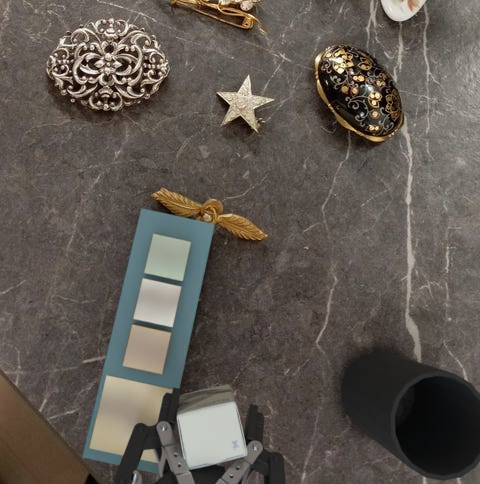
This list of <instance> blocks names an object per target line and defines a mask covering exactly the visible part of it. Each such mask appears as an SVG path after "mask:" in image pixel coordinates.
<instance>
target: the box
mask: <svg viewBox="0 0 480 484" xmlns="http://www.w3.org/2000/svg"><path fill="white" fill-rule="evenodd" d="M176 422H177V429H178V434H179V440H180V447H181V450H182V452H183V457H184V459H185V461H186V464H187V466H188V469H189V470H192V469H197V468H201V467H206V466H210V465H219V464H222V463H225V462H229V461H230V462H231V461H234V460H235V459H237V458H240V457H244V456H247V454H248V453H247V448H246V443H245V438H244V430H243V429H244V428H243V425H242V419H241V416H240V413H239V408H238V404H237V401H236V398H235V396H234V393H233V391H232V388H231V385H230V384H229V383H227V384H222V385H221V384H220V385H216V386H212V387H208V388H203V389H199V390H195V391H191V392H187V393H183V394H180V398H179V404H178V409H177V415H176Z"/></svg>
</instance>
